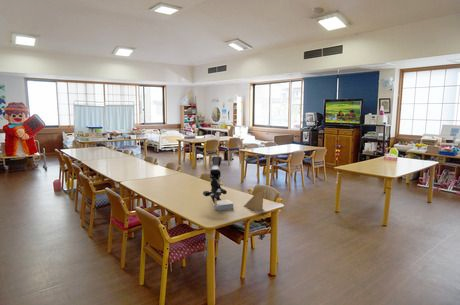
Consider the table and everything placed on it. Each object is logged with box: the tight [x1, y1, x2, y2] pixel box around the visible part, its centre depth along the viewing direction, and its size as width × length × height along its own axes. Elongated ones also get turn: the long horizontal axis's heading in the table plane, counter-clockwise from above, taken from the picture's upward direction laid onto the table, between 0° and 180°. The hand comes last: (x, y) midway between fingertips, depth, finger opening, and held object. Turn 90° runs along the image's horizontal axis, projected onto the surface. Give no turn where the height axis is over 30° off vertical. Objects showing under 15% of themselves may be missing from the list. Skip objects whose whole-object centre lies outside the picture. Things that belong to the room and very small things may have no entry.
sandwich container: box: [243, 191, 264, 212], centre depth 254 cm, size 9×15×15 cm, turn 39°
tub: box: [213, 204, 234, 212], centre depth 252 cm, size 10×13×4 cm
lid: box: [211, 198, 235, 206], centre depth 251 cm, size 11×15×5 cm
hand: (214, 202), depth 248 cm, fingers closed on lid
